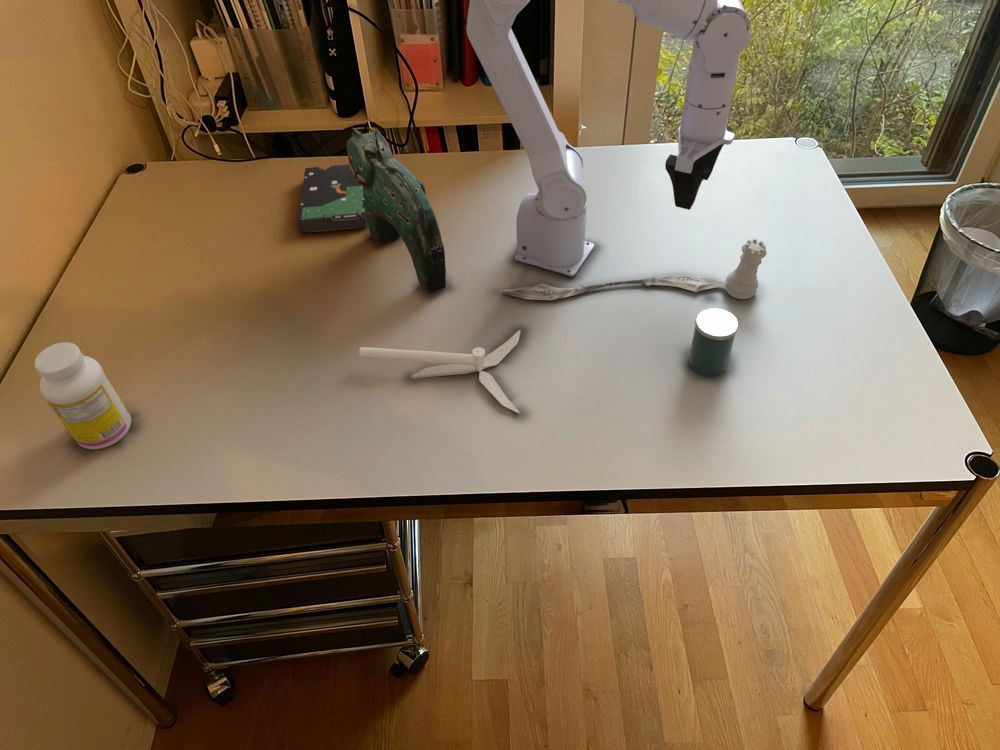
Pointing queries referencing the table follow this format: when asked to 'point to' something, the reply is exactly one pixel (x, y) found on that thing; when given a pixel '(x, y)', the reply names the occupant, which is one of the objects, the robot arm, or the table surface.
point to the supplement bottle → (82, 396)
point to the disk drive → (331, 200)
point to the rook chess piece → (746, 271)
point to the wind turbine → (453, 363)
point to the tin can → (712, 341)
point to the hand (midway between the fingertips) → (692, 191)
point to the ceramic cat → (397, 206)
